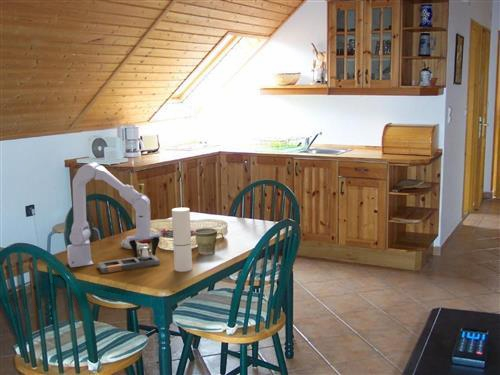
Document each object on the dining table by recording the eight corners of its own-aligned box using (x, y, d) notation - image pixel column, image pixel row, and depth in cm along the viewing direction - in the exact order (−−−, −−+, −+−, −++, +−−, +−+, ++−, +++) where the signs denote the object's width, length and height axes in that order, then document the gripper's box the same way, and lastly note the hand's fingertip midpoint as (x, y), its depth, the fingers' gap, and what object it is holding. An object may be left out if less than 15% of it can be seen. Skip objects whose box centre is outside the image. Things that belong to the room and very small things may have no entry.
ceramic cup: (192, 254, 274) (191, 232, 273) (200, 248, 284) (199, 227, 282) (219, 256, 270) (219, 234, 269) (227, 250, 280) (226, 228, 278)
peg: (141, 265, 261) (140, 249, 259) (139, 263, 264) (138, 247, 263) (151, 264, 262) (150, 248, 261) (148, 261, 266) (147, 245, 265)
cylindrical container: (192, 265, 258) (190, 207, 254) (191, 271, 251) (188, 210, 247) (175, 266, 258) (172, 207, 254) (173, 271, 251) (170, 211, 247)
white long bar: (128, 237, 292) (152, 241, 271) (130, 251, 292) (154, 256, 272) (118, 239, 289) (141, 243, 268) (120, 253, 289) (143, 258, 269)
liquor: (143, 239, 303) (139, 182, 298) (155, 240, 300) (152, 183, 295) (133, 242, 297) (130, 185, 292) (146, 244, 294) (143, 186, 289)
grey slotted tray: (102, 273, 251) (102, 268, 251) (98, 267, 260) (97, 262, 259) (159, 264, 261) (159, 259, 261) (153, 259, 269) (153, 254, 269)
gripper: (128, 229, 254) (130, 261, 256) (162, 224, 260) (164, 256, 262) (124, 225, 260) (126, 256, 263) (157, 221, 266) (159, 252, 268)
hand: (144, 256), depth 263 cm, fingers open, 7 cm apart
